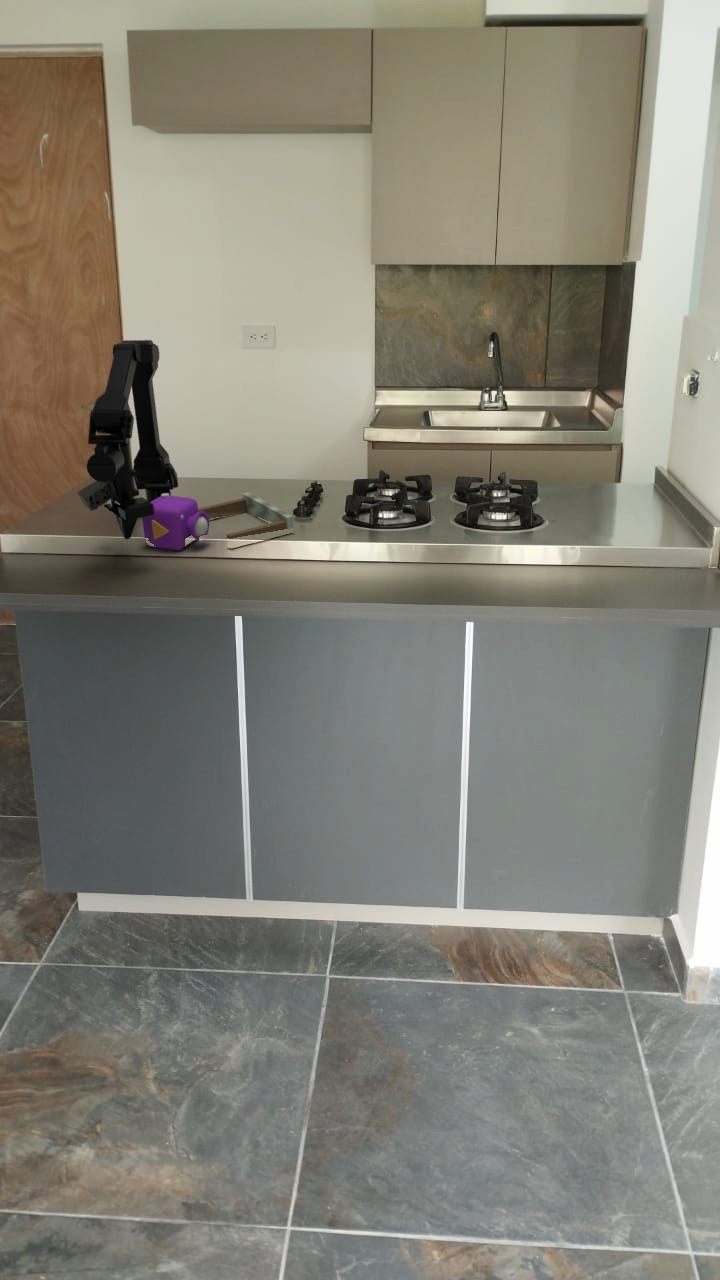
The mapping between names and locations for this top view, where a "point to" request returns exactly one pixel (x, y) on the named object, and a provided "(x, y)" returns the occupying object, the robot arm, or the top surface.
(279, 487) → the top surface
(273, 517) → the walnut dock
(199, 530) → the toy camera
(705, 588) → the top surface
